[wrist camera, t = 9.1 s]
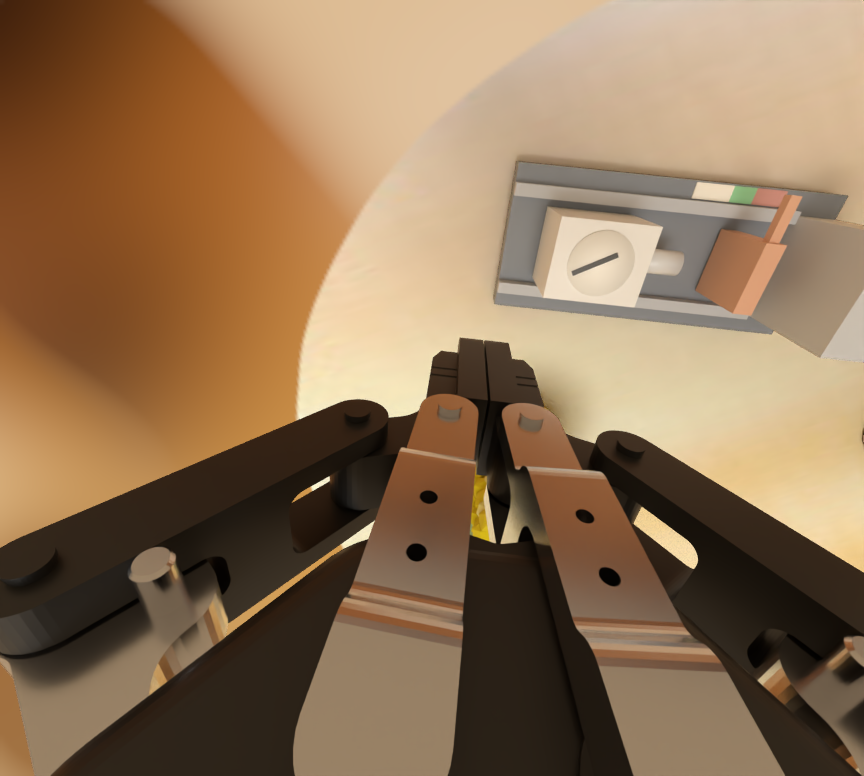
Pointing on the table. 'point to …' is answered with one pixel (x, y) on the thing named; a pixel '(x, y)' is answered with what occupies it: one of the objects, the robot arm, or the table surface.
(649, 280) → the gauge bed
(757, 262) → the brown slider plate
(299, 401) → the table surface
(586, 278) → the gauge housing
